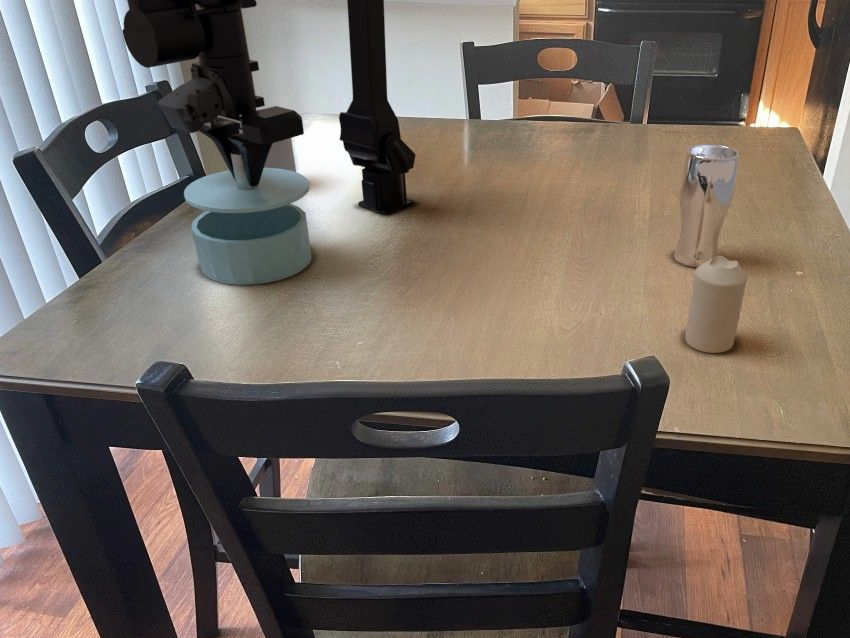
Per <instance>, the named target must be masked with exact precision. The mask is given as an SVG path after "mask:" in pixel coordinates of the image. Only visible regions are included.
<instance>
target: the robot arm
mask: <svg viewBox="0 0 850 638" xmlns="http://www.w3.org/2000/svg"><path fill="white" fill-rule="evenodd" d="M126 1H127V6H128V10H127V12H125V15H124V17H123V29H121V30H122V36H123V39H124V42H125V45H126V47H127V50H128V52H129V53H130V55H131V57H132V58H133V59H134V60H135V62H136V63H138V64H139V65H140V66H142V67H144V68H146V69H149V68H155V67H160V66H166V65H170V64H175V63H180V62H186V61H191V60H195V59H198V61H197V62H193V63H192V62H191V67H190V68H189V69H190V75H191V79H190V80H188V81H187V82H185V83H181V84H180V85H179V86H177V87H176V88H174V89H173V90H172V91H170V92H169V93H167V94H166V95H164V96H163V97H161V98H160V99H159V100H158V101H157V104H158V106H159V108H160V110H161V111H162V113H163V114H164V116H165V118H166V119H167V121H168V123H169V124H170V127H171V128H172V129H174V130H177V129H178V130H182V131H184V132H185V133H188V134H194V133H197V132H200V133H201V134H202V135H205V137H207V138H209V139H210V140H211V141H212V142H213V144H214V145H215V147H216V148H217V150H218V152H219V154H220V155H221V157H222V159H223V161H224V163H225V164H226V166H227V168H228V170H230V172H231V174H232V176H233V178H234V180H235V175H234V170H233V164H232V159H231V154H230V153H231V151H233V150H237V149H239V150H240V154H241V158H242V162H243V165H244V169H245V173H246V176H247V179H248V182H249V185H250V186H251V187H254V186H257V185H259V182H260V179H261V175H262V172H263V169H264V166H265V163H266V160H267V157H268V154H269V151H270V149H271V146H272V144H273V143H275V142H278V141H282V140H285V139H289V138H291V139H292V138H295V137H298V136H302V135H304V134H305V131H304V130H305V129H304V123H303V116H301V115H300V114H299V113H298V112H297V111H296V110H294V109H290V108H286V107H282V106H278V105H274V106H270V107H267V108H266V106H265V105H266V104H265V99H264V96H260V95H257V94H256V89H255V83H254V77H253V72H257V71H260V67H259V62H258V60H253V59H250V53H249V47H248V42H247V41H248V40H247V35H246V29H245V22H244V16H243V11H242V10H245V9H251V8H255V7H256V6H257V5H258V3H257V0H126ZM346 1H347V2H346V3H347V4H346V5H347V19H348V37H349V53H350V71H351V88H352V89H351V90H352V91H351V92H352V101H351V102H350V103H349V106H348V108H347V110H346V111H341V112H339V117H338V120H339V126H340V135H339V141H342V144H343V145H342V146H343V148H344V150H345V152H347V154H348V155H349V158H350V161H351V163H352V165H353V166H355V167H361V174H362V175H361V176H362V179H361V191H362V200H360V201H358V203H357V205H358V206H359V207H362V208H365V209H368V210H371V211H374V212H377V213H380V214H382V215H391V214H392V213H394V212H397V211H399V210H401V209H402V210H403V209H404V208H407V207H409V206H411V205H413V204H415V200H414V199H412V198H409V197H407V184H406V183H407V182H406V181H407V180H406V174H408V173H409V171H410V170H411V169H413V168H414V167H415V160H416V153H415V152H414V151H413V150H412V149H411V148H410V146H408V145H407V144H406V143H405V141H404V140H403V139H402V135H401V130H400V129H401V128H400V123H399V119H398V117H397V115H396V113H395V111H394V110H393V107H392V106H391V104H390V102H389V99H388V80H387V78H388V77H387V55H386V54H387V53H386V52H387V51H386V26H385V23H386V21H385V0H346ZM261 107H265V108H266V109H265V108H261ZM259 108H261V109H262V110H258V111H256V109H259ZM235 181H236V180H235Z"/></svg>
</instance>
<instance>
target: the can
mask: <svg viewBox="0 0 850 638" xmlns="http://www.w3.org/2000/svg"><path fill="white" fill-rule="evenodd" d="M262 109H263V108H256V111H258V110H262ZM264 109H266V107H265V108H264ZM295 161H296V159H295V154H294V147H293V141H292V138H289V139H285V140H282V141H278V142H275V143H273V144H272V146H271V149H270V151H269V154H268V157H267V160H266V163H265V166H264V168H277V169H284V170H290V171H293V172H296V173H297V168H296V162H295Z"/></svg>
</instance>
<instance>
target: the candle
mask: <svg viewBox="0 0 850 638" xmlns="http://www.w3.org/2000/svg"><path fill="white" fill-rule="evenodd" d="M747 280H748V275H747V273H746V272H745V270H744V269H743V268H742V266H741V265H740V263H739V261H738V260H729V259H728V258H727V257H726V256H723V255H719V256H715V257H714V258H712V259H711V260H709V261H707V262H705V263H703V264H702V265H700V266H699V267H698V268H697V267H696V269H695V271H694V278H693V284H692V291H691V297H690V302H689V308H688V316H687V320H686V321H687V322H686V328H685V334H684V339H685V342H686V344H687V345H689V346H690V347H691V348H693V349H695V350H697V351H700V352H703V353H709V354H719V353H724V352H727V351H729V350H731V349H732V348H733V346H734V343H735V339H736V336H737V335H736V334H737V330H738V325H739V320H740V315H741V309H742V306H743V300H744V296H745V295H744V294H745V291H746V285H747Z"/></svg>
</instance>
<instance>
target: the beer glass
mask: <svg viewBox="0 0 850 638" xmlns="http://www.w3.org/2000/svg"><path fill="white" fill-rule="evenodd" d="M739 156H740V153H739V150H737V149H735V148H733V147H730V146H726V145H722V144H717V143H700V144H693V145H690V146H689V147H687V149H686V155H685V159H684V163H683V169H682V172H681V179H680V187H679V207H680V210H679V211H680V231H679V232H680V234H679V238H678V241H677V245H676V248H675V250H674V254H673V257H674V259H675V261H677V262H678V263H679V264H681V265H683V266H686V267H690V268H696V269H697V268H698V267H699V266H700V265H702V264H703V263H705V262H707V261H709V260H711V259H712V258H714V257H715V256H720V254H719V250H720V249H719V245H720V244H719V243H720V236H721V231H722V228H723V226H724V223H725V220H726V218H727V215H728V212H729V210H730V207H731V203H732V201H733V197H734V193H735V189H736V184H737V183H736V182H737V177H738V166H739V165H738V164H739Z"/></svg>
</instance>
